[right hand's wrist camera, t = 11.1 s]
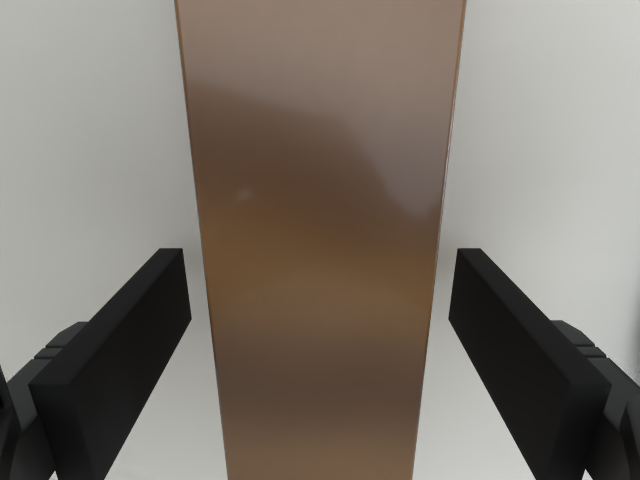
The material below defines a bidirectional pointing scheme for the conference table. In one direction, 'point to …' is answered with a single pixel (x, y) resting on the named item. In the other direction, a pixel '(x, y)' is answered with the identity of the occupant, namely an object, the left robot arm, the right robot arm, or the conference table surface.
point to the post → (320, 221)
